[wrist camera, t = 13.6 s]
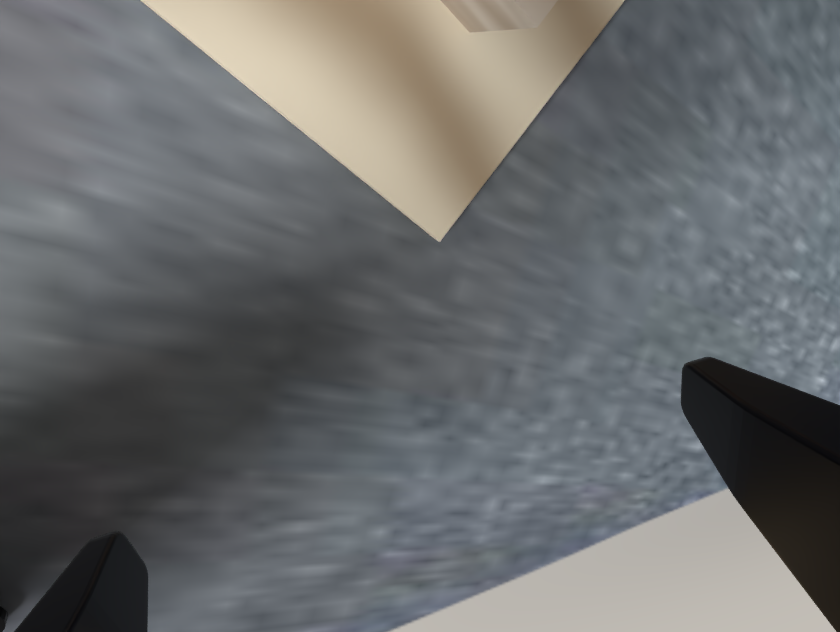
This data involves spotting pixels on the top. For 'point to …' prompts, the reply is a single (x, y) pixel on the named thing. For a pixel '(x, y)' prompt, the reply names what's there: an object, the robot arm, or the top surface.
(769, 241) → the top surface
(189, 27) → the socket
